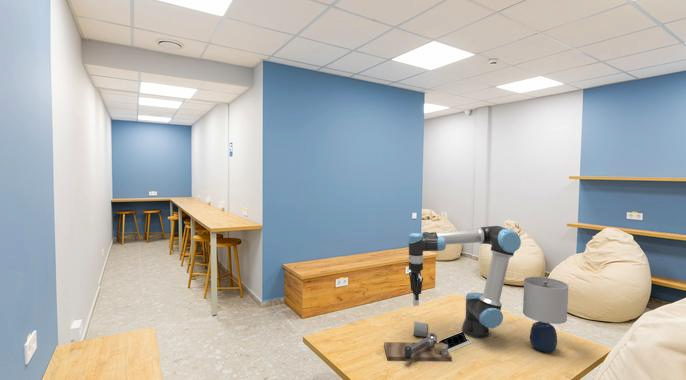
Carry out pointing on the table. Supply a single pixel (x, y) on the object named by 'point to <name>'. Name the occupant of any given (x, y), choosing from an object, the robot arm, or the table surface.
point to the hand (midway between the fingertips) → (415, 305)
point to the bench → (397, 352)
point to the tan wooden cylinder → (438, 348)
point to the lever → (420, 345)
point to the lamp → (545, 309)
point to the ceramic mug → (420, 329)
